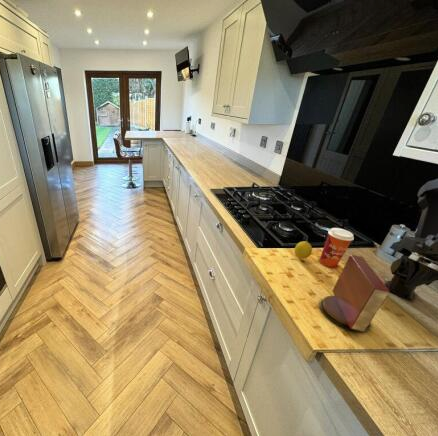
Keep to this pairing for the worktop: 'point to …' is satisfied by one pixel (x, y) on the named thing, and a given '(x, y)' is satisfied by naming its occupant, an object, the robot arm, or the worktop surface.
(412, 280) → the robot arm
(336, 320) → the turntable base
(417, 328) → the worktop surface
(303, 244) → the lemon
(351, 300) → the book stand
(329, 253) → the paper cup
